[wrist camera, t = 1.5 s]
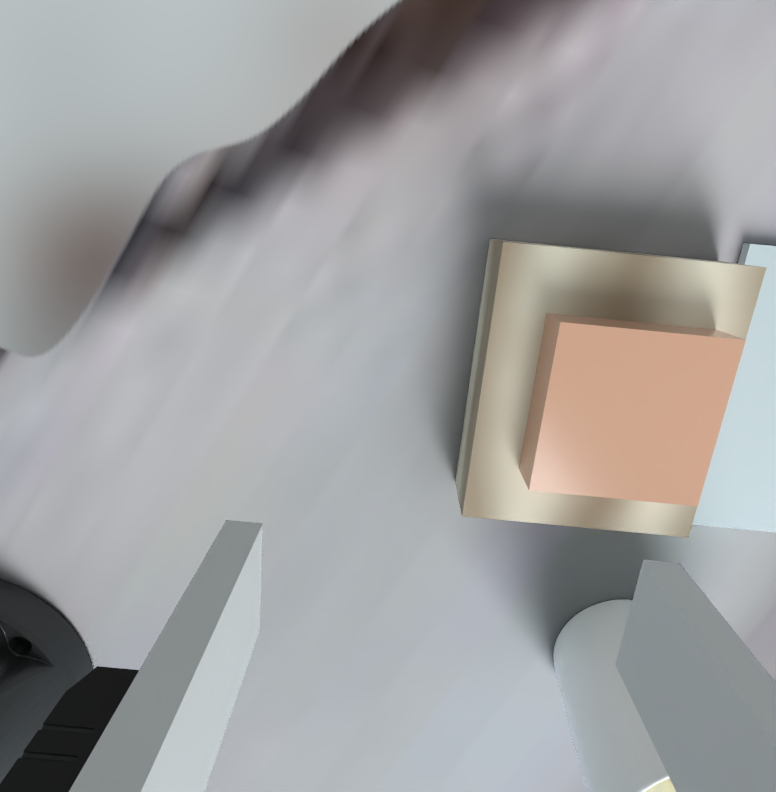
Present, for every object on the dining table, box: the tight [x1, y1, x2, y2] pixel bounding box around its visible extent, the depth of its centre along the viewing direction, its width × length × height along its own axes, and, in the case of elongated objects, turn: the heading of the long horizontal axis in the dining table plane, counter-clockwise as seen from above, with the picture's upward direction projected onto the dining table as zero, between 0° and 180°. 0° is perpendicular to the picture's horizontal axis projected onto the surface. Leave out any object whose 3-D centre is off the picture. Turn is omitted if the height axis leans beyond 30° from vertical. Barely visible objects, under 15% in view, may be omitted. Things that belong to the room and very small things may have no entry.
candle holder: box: [553, 599, 676, 792], centre depth 31 cm, size 10×10×12 cm
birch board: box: [455, 239, 767, 537], centre depth 29 cm, size 12×14×4 cm
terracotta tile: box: [519, 313, 746, 506], centre depth 26 cm, size 8×8×2 cm
